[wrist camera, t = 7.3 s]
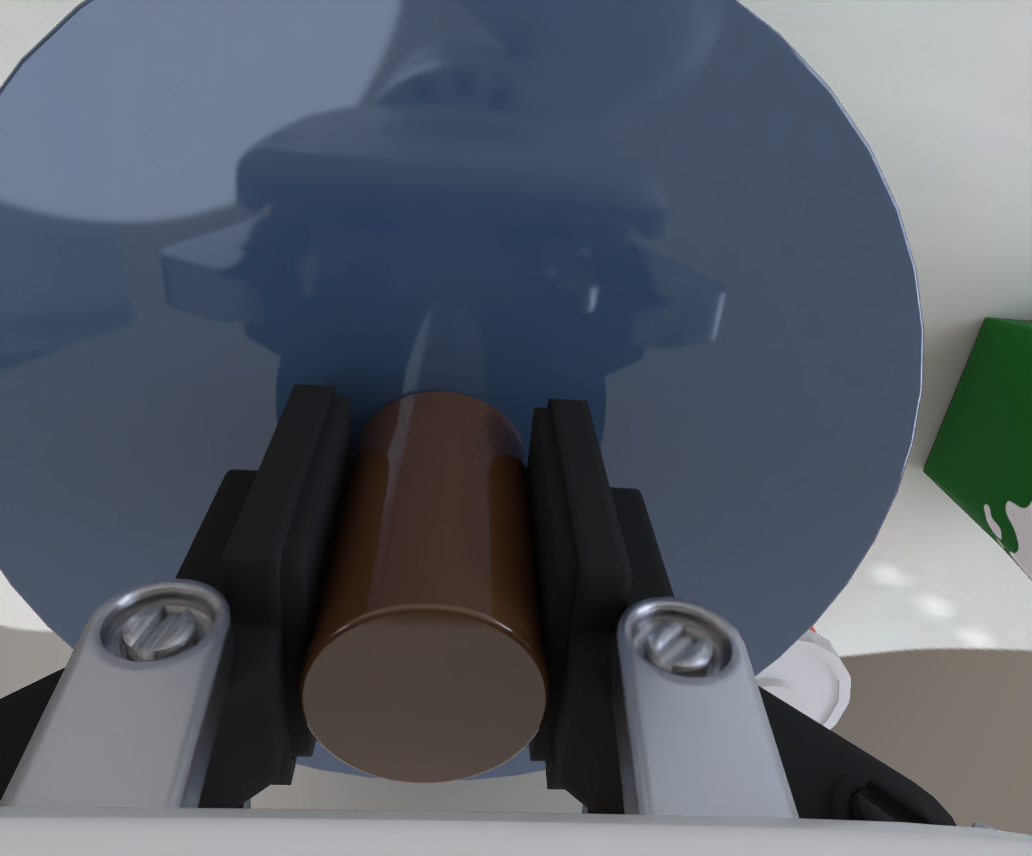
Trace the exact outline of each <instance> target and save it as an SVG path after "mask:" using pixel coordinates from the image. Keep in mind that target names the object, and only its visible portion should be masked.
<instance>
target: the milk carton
mask: <svg viewBox="0 0 1032 856" xmlns="http://www.w3.org/2000/svg"><path fill="white" fill-rule="evenodd" d="M923 472H924V473H925V474H926V475H927V476H928V477H929V478H931V479H932V480H933V481H934V482H935V483H936V484H937V485H938V486H939V487H940V488H941V489H942V490H943V491H944V492H945V493H946V494H947V495H948V496H949V497H950V498H951V499H952V500H953V501H954V502H955V503H956V504H957V505H959V506H960V507H961V508H962V509H963V510H964V511H965V512H966V513H967V514H968V515H969V516H970V517H971V518H972V519H973V520H974V521H975V522H976V523H977V524H978V525H979V526H980V527H981V528H982V529H983V530H984V531H985V532H986V533H988V534H989V535H990V536H991V537H992V538H993V539H994V540H995V541H996V542H997V543H998V544H999V545H1000V546H1001V547H1002V548H1003V549H1004V550H1005V551H1006V553H1007V554H1008V555H1009V556H1010V557H1011V558H1012V559H1013V560H1014V561H1015V563H1016V564H1017V565H1018V566H1019V567H1020V568H1021V569H1022V570H1023V571H1024V573H1025V574H1026V575H1027V576H1028V577H1029V578H1030V579H1031V580H1032V321H1022V320H1010V319H998V318H986V319H985V321H984V323H983V326H982V328H981V331H980V333H979V336H978V338H977V340H976V343H975V345H974V348H973V350H972V353H971V355H970V358H969V360H968V362H967V365H966V367H965V370H964V372H963V375H962V377H961V379H960V382H959V384H958V387H957V389H956V392H955V394H954V397H953V399H952V401H951V404H950V406H949V409H948V411H947V414H946V416H945V419H944V421H943V423H942V426H941V428H940V431H939V433H938V436H937V438H936V441H935V443H934V445H933V448H932V450H931V453H930V455H929V458H928V460H927V463H926V465H925V467H924V470H923Z"/></svg>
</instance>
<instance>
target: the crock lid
mask: <svg viewBox="0 0 1032 856" xmlns="http://www.w3.org/2000/svg"><path fill="white" fill-rule="evenodd" d="M923 344H924V327H923V320H922V312H921V304H920V296H919V288H918V280H917V273H916V267H915V263H914V260H913V256H912V253H911V249H910V246H909V242H908V239H907V235H906V232H905V229H904V225H903V222H902V218H901V215H900V211H899V208H898V205H897V203H896V201H895V199H894V197H893V195H892V193H891V190H890V188H889V186H888V184H887V182H886V180H885V178H884V175H883V173H882V171H881V169H880V167H879V165H878V163H877V160H876V158H875V156H874V154H873V152H872V150H871V148H870V146H869V144H868V143H867V141H866V140H865V138H864V137H863V135H862V134H861V132H860V131H859V129H858V128H857V127H856V125H855V124H854V122H853V121H852V119H851V118H850V116H849V115H848V113H847V112H846V110H845V109H844V107H843V106H842V104H841V103H840V101H839V100H838V98H837V97H836V95H835V94H834V92H833V91H832V90H831V88H830V87H829V86H828V85H827V84H826V83H825V82H824V80H823V79H822V78H821V77H820V76H819V75H818V74H817V73H816V72H815V71H814V70H813V69H812V68H811V67H810V65H809V64H808V63H807V62H806V61H805V60H804V59H803V58H802V57H801V56H800V55H799V54H798V53H797V52H796V50H795V49H794V48H793V47H792V46H791V45H790V44H789V43H788V42H787V41H786V40H785V39H784V38H783V37H782V35H781V34H780V33H779V32H777V31H776V30H775V29H773V28H772V27H771V26H770V25H768V24H767V23H766V22H764V21H763V20H762V19H761V18H759V17H758V16H757V15H756V14H754V13H753V12H752V11H750V10H749V9H748V8H747V7H745V6H744V5H743V4H742V3H740V2H739V1H738V0H84V1H83V2H81V3H80V4H78V5H77V6H76V7H75V8H74V9H73V10H72V11H71V12H70V13H69V14H68V15H66V16H65V17H64V18H63V19H62V20H61V21H60V22H59V23H58V24H57V25H56V26H55V27H54V28H53V29H52V30H51V31H50V32H49V33H48V34H47V35H45V36H44V37H43V38H42V39H41V40H40V41H39V42H38V43H37V44H36V45H35V46H34V47H33V48H32V49H31V50H30V51H29V52H28V53H27V54H26V55H25V56H23V57H22V59H21V60H20V61H19V63H18V64H17V65H16V67H15V68H14V69H13V71H12V72H11V73H10V75H9V76H8V77H7V79H6V80H5V82H4V83H3V84H2V86H1V87H0V570H1V571H2V573H3V574H4V576H5V577H6V579H7V580H8V582H9V583H10V584H11V586H12V587H13V588H14V589H15V590H16V591H17V592H18V594H19V595H20V596H21V597H22V598H23V599H24V600H25V601H26V603H27V604H28V605H29V606H30V607H31V608H32V609H33V610H34V612H35V613H36V614H37V615H38V616H39V617H40V618H41V619H42V621H43V622H44V623H45V624H46V625H47V626H48V627H49V628H50V629H51V630H52V631H53V632H55V633H56V634H57V635H58V636H59V637H60V638H61V639H62V640H63V641H65V642H66V643H67V644H68V645H69V646H70V647H71V648H72V649H75V646H76V644H77V642H78V640H79V638H80V636H81V634H82V632H83V630H84V628H85V626H86V624H87V622H88V621H89V620H90V618H91V617H92V615H93V614H94V613H95V611H96V610H97V609H98V608H99V607H100V606H101V605H103V604H104V603H105V602H106V601H108V600H109V599H110V598H112V597H113V596H115V595H117V594H119V593H121V592H123V591H125V590H127V589H129V588H131V587H133V586H136V585H140V584H143V583H147V582H150V581H154V580H163V579H173V578H176V576H177V573H178V571H179V569H180V567H181V565H182V563H183V561H184V559H185V557H186V555H187V553H188V551H189V549H190V546H191V544H192V542H193V540H194V538H195V536H196V534H197V532H198V530H199V528H200V526H201V524H202V522H203V520H204V517H205V515H206V513H207V511H208V509H209V507H210V505H211V503H212V501H213V499H214V497H215V495H216V493H217V491H218V488H219V486H220V484H221V482H222V480H223V478H224V476H225V475H226V473H227V472H228V471H229V470H231V469H237V470H259V467H260V465H261V462H262V460H263V458H264V455H265V453H266V451H267V448H268V446H269V443H270V441H271V439H272V436H273V434H274V432H275V429H276V427H277V424H278V422H279V420H280V417H281V415H282V413H283V410H284V408H285V406H286V403H287V401H288V398H289V396H290V394H291V391H292V389H293V387H294V385H295V384H304V385H322V386H335V389H336V396H342V397H349V399H350V432H351V467H350V471H349V475H348V480H347V484H346V488H345V492H344V496H343V500H342V504H341V509H340V513H339V517H338V521H337V525H336V529H335V534H334V538H333V542H332V546H331V550H330V554H329V558H328V563H327V567H326V571H325V575H324V579H323V583H322V587H321V592H320V596H319V600H318V604H317V608H316V612H315V616H314V621H313V625H312V629H311V633H310V637H309V641H308V645H307V650H306V654H305V658H304V662H303V666H302V670H301V674H300V678H299V685H298V697H299V705H300V709H301V712H302V715H303V718H304V721H305V723H306V725H307V727H308V728H309V730H310V732H311V733H312V735H313V736H314V737H315V739H316V743H315V748H314V752H313V755H312V756H311V757H297V760H296V764H298V765H301V766H305V767H309V768H313V769H317V770H322V771H328V772H335V773H341V774H347V775H353V776H360V777H366V778H376V779H386V780H391V781H397V782H403V783H417V784H432V783H445V782H452V781H470V780H480V779H489V778H500V777H510V776H518V775H523V774H528V773H533V772H539V771H544V770H546V767H545V761H531V760H530V754H529V743H530V742H531V741H532V740H533V739H534V737H535V736H536V734H537V733H538V731H539V730H540V728H541V726H542V724H543V722H544V720H545V717H546V715H547V712H548V708H549V704H550V695H551V688H550V679H549V669H548V660H547V654H546V644H545V635H544V626H543V616H542V607H541V598H540V588H539V579H538V569H537V560H536V551H535V541H534V532H533V523H532V513H531V504H530V494H529V485H528V476H527V464H528V455H529V446H530V437H531V428H532V419H533V412H534V408H535V407H541V408H547V405H548V401H549V399H550V398H552V399H570V400H587V402H588V405H589V409H590V412H591V416H592V420H593V424H594V428H595V432H596V435H597V439H598V443H599V447H600V451H601V455H602V459H603V462H604V466H605V470H606V474H607V478H608V482H609V485H610V487H615V488H635V489H638V490H640V492H641V494H642V496H643V499H644V503H645V506H646V509H647V512H648V515H649V518H650V522H651V525H652V528H653V531H654V534H655V537H656V540H657V544H658V547H659V550H660V553H661V556H662V559H663V563H664V566H665V569H666V572H667V575H668V578H669V581H670V585H671V588H672V591H673V594H674V597H677V598H682V599H688V600H692V601H694V602H697V603H700V604H702V605H705V606H707V607H709V608H711V609H713V610H714V611H716V612H717V613H719V614H720V615H722V616H723V617H725V618H726V619H727V620H728V621H729V622H730V623H731V624H732V625H733V626H734V627H735V628H736V629H737V630H738V632H739V634H740V636H741V638H742V640H743V642H744V644H745V646H746V649H747V653H748V656H749V659H750V662H751V665H752V669H753V672H754V675H755V677H756V676H757V675H758V674H759V673H761V672H762V671H763V670H765V669H766V668H767V667H768V666H770V665H771V664H772V663H774V662H775V661H776V660H777V659H779V658H780V657H781V656H782V655H783V654H784V653H785V652H786V651H787V650H788V649H789V648H790V647H791V646H792V645H793V644H794V643H795V642H796V641H797V640H798V639H799V638H800V637H801V636H802V635H803V634H805V633H806V632H807V631H808V630H809V629H810V628H811V627H812V626H813V625H814V624H815V623H816V621H817V620H818V619H819V618H820V617H821V615H822V614H823V613H824V612H825V610H826V609H827V608H828V607H829V606H830V604H831V603H832V602H833V601H834V600H835V598H836V597H837V596H838V595H839V593H840V592H841V591H842V590H843V589H844V587H845V586H846V585H847V583H848V582H849V580H850V579H851V577H852V576H853V574H854V572H855V571H856V569H857V568H858V566H859V565H860V563H861V561H862V560H863V558H864V557H865V555H866V554H867V552H868V551H869V549H870V547H871V546H872V544H873V543H874V541H875V539H876V537H877V535H878V533H879V530H880V528H881V526H882V524H883V522H884V520H885V518H886V516H887V514H888V511H889V509H890V507H891V505H892V503H893V501H894V499H895V497H896V495H897V492H898V488H899V485H900V482H901V479H902V476H903V473H904V470H905V467H906V463H907V460H908V457H909V454H910V451H911V448H912V445H913V440H914V434H915V429H916V423H917V417H918V411H919V405H920V399H921V393H922V386H923Z"/></svg>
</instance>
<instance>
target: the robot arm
mask: <svg viewBox="0 0 1032 856" xmlns="http://www.w3.org/2000/svg"><path fill="white" fill-rule="evenodd" d="M350 467H351V432H350V399H349V397H342V396H336V389H335V386H322V385H304V384H295V385H294V387H293V389H292V391H291V394H290V396H289V398H288V401H287V403H286V406H285V408H284V410H283V413H282V415H281V417H280V420H279V422H278V424H277V427H276V429H275V432H274V434H273V436H272V439H271V441H270V443H269V446H268V448H267V451H266V453H265V455H264V458H263V460H262V462H261V465H260V467H259V470H237V469H231V470H229V471H228V472H227V473H226V475H225V476H224V478H223V480H222V482H221V484H220V486H219V488H218V491H217V493H216V495H215V497H214V499H213V501H212V503H211V505H210V507H209V509H208V511H207V513H206V515H205V517H204V520H203V522H202V524H201V526H200V528H199V530H198V532H197V534H196V536H195V538H194V540H193V542H192V544H191V546H190V549H189V551H188V553H187V555H186V557H185V559H184V561H183V563H182V565H181V567H180V569H179V571H178V573H177V576H176V578H173V579H163V580H154V581H150V582H147V583H143V584H140V585H136V586H133V587H131V588H129V589H127V590H125V591H123V592H121V593H119V594H117V595H115V596H113V597H112V598H110V599H109V600H108V601H106V602H105V603H104V604H103V605H101V606H100V607H99V608H98V609H97V610H96V611H95V613H94V614H93V615H92V617H91V618H90V620H89V621H88V622H87V624H86V626H85V628H84V630H83V632H82V634H81V636H80V638H79V640H78V642H77V644H76V646H75V649H74V651H73V653H72V655H71V657H70V659H69V661H68V663H67V665H66V667H65V668H63V669H61V670H59V671H57V672H55V673H53V674H51V675H48V676H46V677H44V678H42V679H41V680H38V681H36V682H34V683H32V684H30V685H28V686H26V687H24V688H22V689H20V690H18V691H16V692H14V693H12V694H9V695H7V696H5V697H3V698H1V699H0V856H1032V835H1026V834H1020V833H1012V832H1006V831H999V830H997V829H994V828H991V827H989V826H986V825H984V824H981V823H978V822H974V823H973V825H972V827H962V826H956V824H955V822H954V820H953V818H952V817H951V816H950V814H949V813H948V812H947V811H946V810H945V809H944V808H943V807H942V806H941V804H940V803H939V802H938V801H937V800H936V799H935V798H934V797H933V796H932V795H930V794H929V793H928V792H926V791H925V790H924V789H922V788H921V787H920V786H918V785H917V784H916V783H914V782H913V781H911V780H910V779H908V778H906V777H904V776H903V775H901V774H900V773H898V772H897V771H895V770H893V769H892V768H890V767H889V766H887V765H885V764H884V763H882V762H881V761H879V760H877V759H876V758H874V757H873V756H871V755H869V754H868V753H866V752H865V751H863V750H861V749H860V748H858V747H857V746H855V745H853V744H852V743H850V742H848V741H847V740H845V739H843V738H842V737H841V736H839V735H837V734H836V733H834V732H832V731H831V730H829V729H828V728H826V727H824V726H823V725H821V724H820V723H818V722H816V721H815V720H813V719H812V718H810V717H808V716H807V715H805V714H804V713H802V712H800V711H799V710H797V709H796V708H794V707H792V706H791V705H789V704H787V703H786V702H784V701H783V700H781V699H779V698H778V697H776V696H775V695H773V694H771V693H770V692H768V691H767V690H765V689H763V688H762V687H760V686H759V685H757V681H756V678H755V675H754V672H753V669H752V665H751V662H750V659H749V656H748V653H747V649H746V646H745V644H744V642H743V640H742V638H741V636H740V634H739V632H738V630H737V629H736V628H735V627H734V626H733V625H732V624H731V623H730V622H729V621H728V620H727V619H726V618H725V617H723V616H722V615H720V614H719V613H717V612H716V611H714V610H713V609H711V608H709V607H707V606H705V605H702V604H700V603H697V602H694V601H692V600H688V599H682V598H677V597H674V594H673V591H672V588H671V585H670V581H669V578H668V575H667V572H666V569H665V566H664V563H663V559H662V556H661V553H660V550H659V547H658V544H657V540H656V537H655V534H654V531H653V528H652V525H651V522H650V518H649V515H648V512H647V509H646V506H645V503H644V499H643V496H642V494H641V492H640V490H638V489H635V488H615V487H610V485H609V482H608V478H607V474H606V470H605V466H604V462H603V459H602V455H601V451H600V447H599V443H598V439H597V435H596V432H595V428H594V424H593V420H592V416H591V412H590V409H589V405H588V402H587V400H570V399H552V398H550V399H549V401H548V405H547V408H541V407H535V408H534V412H533V419H532V428H531V437H530V446H529V455H528V464H527V476H528V485H529V494H530V504H531V513H532V523H533V532H534V541H535V551H536V560H537V569H538V579H539V588H540V598H541V607H542V616H543V626H544V635H545V644H546V654H547V660H548V669H549V679H550V688H551V695H550V704H549V708H548V712H547V715H546V717H545V720H544V722H543V724H542V726H541V728H540V730H539V731H538V733H537V734H536V736H535V737H534V739H533V740H532V741H531V742H530V743H529V754H530V760H531V761H545V767H546V778H547V789H565V790H566V791H568V792H569V793H570V794H571V795H573V796H574V797H575V798H576V799H578V800H579V801H580V802H581V803H582V804H583V807H582V813H526V812H464V811H463V812H462V811H457V812H456V811H398V810H394V811H393V810H324V809H323V810H322V809H251V807H250V806H251V802H250V801H251V799H250V798H252V797H253V796H254V795H256V794H257V793H259V792H260V791H262V790H263V789H265V788H266V787H268V786H269V785H271V784H272V785H274V784H275V785H291V782H292V778H293V773H294V768H295V764H296V760H297V757H311V756H312V755H313V752H314V748H315V743H316V739H315V737H314V736H313V735H312V733H311V732H310V730H309V728H308V727H307V725H306V723H305V721H304V718H303V715H302V712H301V709H300V705H299V697H298V685H299V678H300V674H301V670H302V666H303V662H304V658H305V654H306V650H307V645H308V641H309V637H310V633H311V629H312V625H313V621H314V616H315V612H316V608H317V604H318V600H319V596H320V592H321V587H322V583H323V579H324V575H325V571H326V567H327V563H328V558H329V554H330V550H331V546H332V542H333V538H334V534H335V529H336V525H337V521H338V517H339V513H340V509H341V504H342V500H343V496H344V492H345V488H346V484H347V480H348V475H349V471H350Z"/></svg>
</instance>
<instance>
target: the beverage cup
mask: <svg viewBox="0 0 1032 856" xmlns="http://www.w3.org/2000/svg"><path fill="white" fill-rule="evenodd" d="M755 678H756V681H757V685H759V686H760V687H762V688H763V689H765V690H767V691H768V692H770V693H771V694H773V695H775V696H776V697H778V698H779V699H781V700H783V701H784V702H786V703H787V704H789V705H791V706H792V707H794V708H796V709H797V710H799V711H800V712H802V713H804V714H805V715H807V716H808V717H810V718H812V719H813V720H815V721H816V722H818V723H820V724H821V725H823V726H824V727H826V728H828V729H829V730H830V729H831V728H832V727H833V726H835V725H836V723H837V722H838V720H839V718H840V717H841V715H842V713H843V712H844V710H845V708H846V707H847V705H848V703H849V701H850V685H851V677H850V675H849V673H848V671H847V670H846V668H845V666H844V665H843V663H842V661H841V660H840V658H839V656H838V655H837V653H836V651H835V650H834V648H833V646H832V645H831V643H830V641H829V640H827V639H825V638H824V637H822V636H820V635H818V634H817V633H816V631H815V630H814V628H813V626H812V627H811V628H810V629H809V630H808V631H807V632H806V633H805V634H803V635H802V636H801V637H800V638H799V639H798V640H797V641H796V642H795V643H794V644H793V645H792V646H791V647H790V648H789V649H788V650H787V651H786V652H785V653H784V654H783V655H782V656H781V657H780V658H779V659H777V660H776V661H775V662H774V663H772V664H771V665H770V666H768V667H767V668H766V669H765V670H763V671H762V672H761V673H759V674H758V675H757V676H756V677H755Z"/></svg>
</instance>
